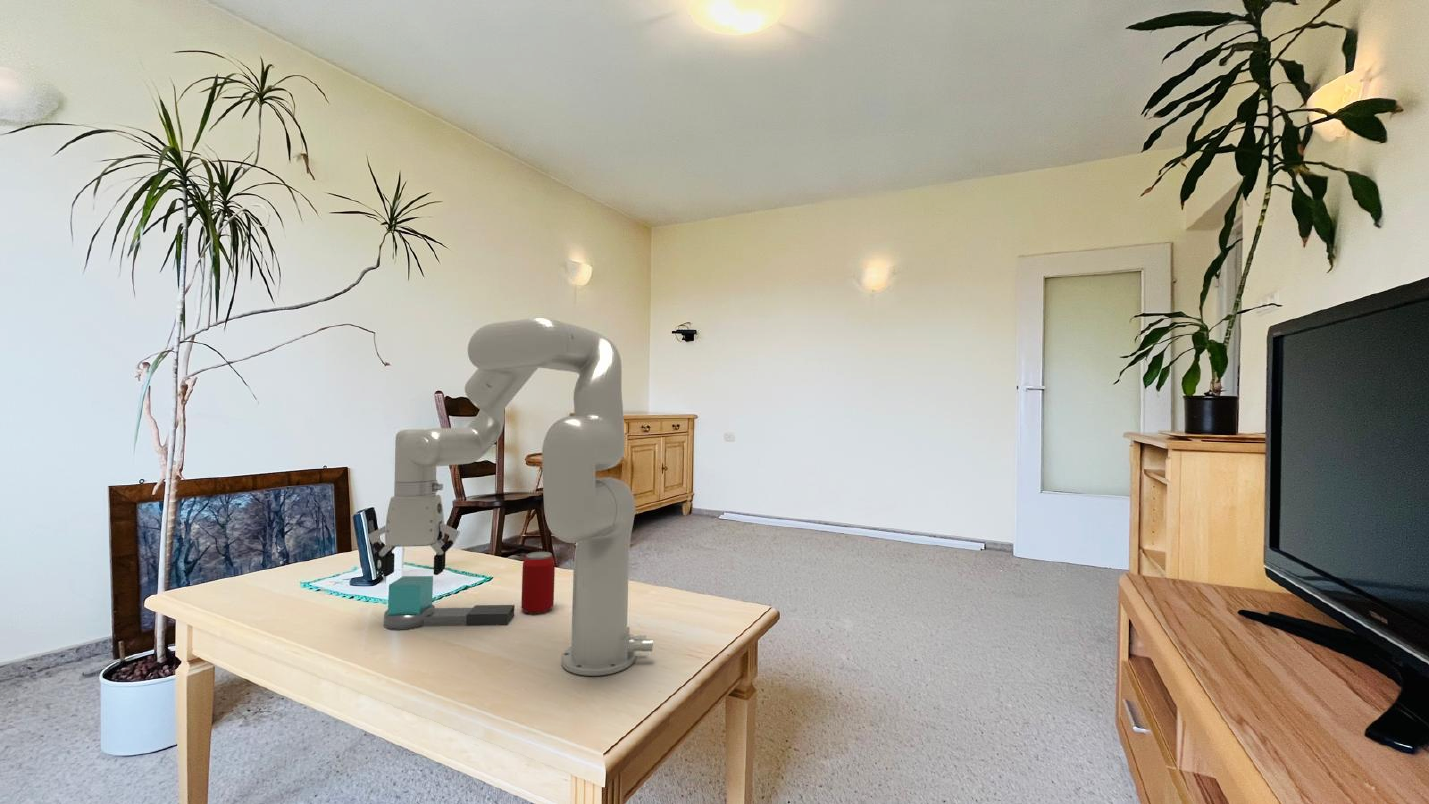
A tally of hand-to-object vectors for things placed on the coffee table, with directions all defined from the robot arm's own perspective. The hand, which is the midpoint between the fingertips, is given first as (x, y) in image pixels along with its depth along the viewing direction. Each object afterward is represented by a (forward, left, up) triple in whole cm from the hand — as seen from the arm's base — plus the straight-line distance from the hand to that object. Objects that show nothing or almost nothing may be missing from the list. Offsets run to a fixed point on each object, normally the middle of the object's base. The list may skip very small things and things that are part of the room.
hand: (413, 574), depth 111 cm
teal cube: (0, 0, -7) cm, 7 cm away
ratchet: (-6, 0, -10) cm, 12 cm away
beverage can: (-24, -6, -10) cm, 26 cm away
